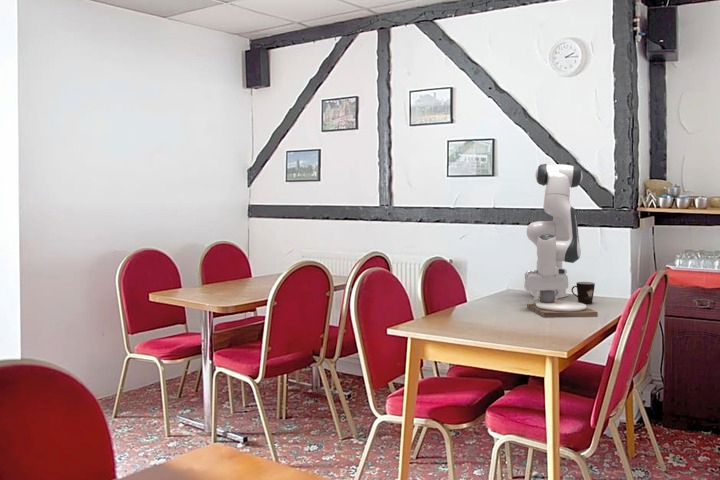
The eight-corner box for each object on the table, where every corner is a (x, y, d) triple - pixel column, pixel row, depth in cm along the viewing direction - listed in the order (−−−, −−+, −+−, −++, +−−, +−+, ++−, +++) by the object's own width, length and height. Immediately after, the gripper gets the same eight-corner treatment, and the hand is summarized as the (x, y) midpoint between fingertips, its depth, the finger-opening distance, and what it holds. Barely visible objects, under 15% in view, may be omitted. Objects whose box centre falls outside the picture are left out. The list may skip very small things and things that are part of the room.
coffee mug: (592, 301, 348) (592, 281, 347) (596, 304, 340) (596, 284, 339) (568, 301, 349) (568, 281, 349) (571, 304, 341) (572, 283, 340)
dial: (597, 308, 316) (597, 294, 316) (562, 313, 305) (562, 298, 305) (558, 301, 336) (558, 288, 335) (524, 305, 324) (524, 292, 324)
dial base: (526, 307, 331) (526, 303, 331) (576, 307, 333) (576, 302, 333) (543, 317, 307) (544, 312, 307) (597, 316, 309) (597, 311, 309)
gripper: (527, 271, 320) (527, 301, 322) (570, 270, 324) (569, 299, 325) (522, 269, 327) (522, 299, 328) (564, 268, 330) (563, 297, 331)
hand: (546, 299), depth 327 cm, fingers open, 8 cm apart
